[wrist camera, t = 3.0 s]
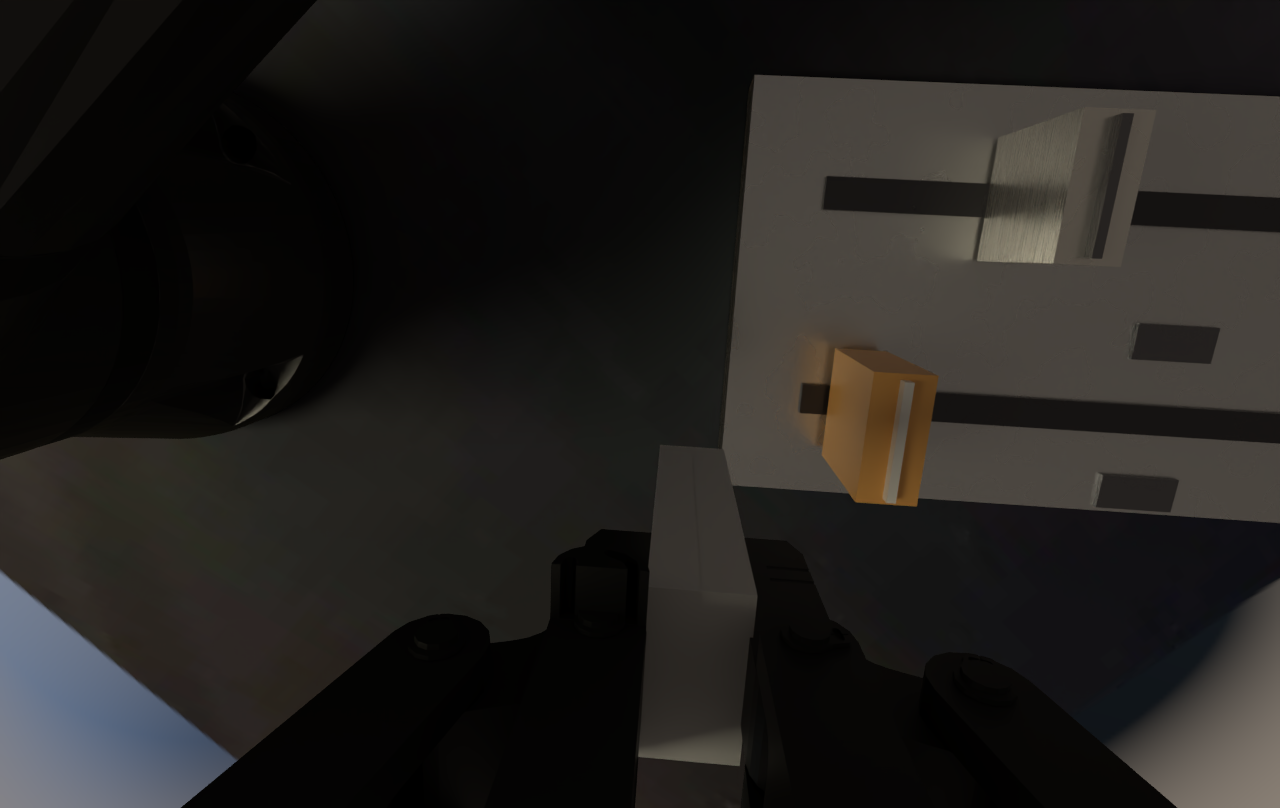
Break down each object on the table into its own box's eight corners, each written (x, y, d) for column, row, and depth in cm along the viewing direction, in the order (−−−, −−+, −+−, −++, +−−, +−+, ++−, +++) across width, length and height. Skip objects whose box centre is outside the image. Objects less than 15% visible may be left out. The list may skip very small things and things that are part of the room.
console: (716, 468, 29) (729, 542, 21) (748, 88, 25) (778, 20, 18) (1259, 505, 28) (1470, 597, 20) (1379, 115, 24) (1690, 55, 17)
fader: (821, 454, 26) (859, 506, 20) (835, 348, 25) (877, 374, 19) (871, 458, 26) (921, 511, 20) (886, 351, 25) (944, 378, 19)
